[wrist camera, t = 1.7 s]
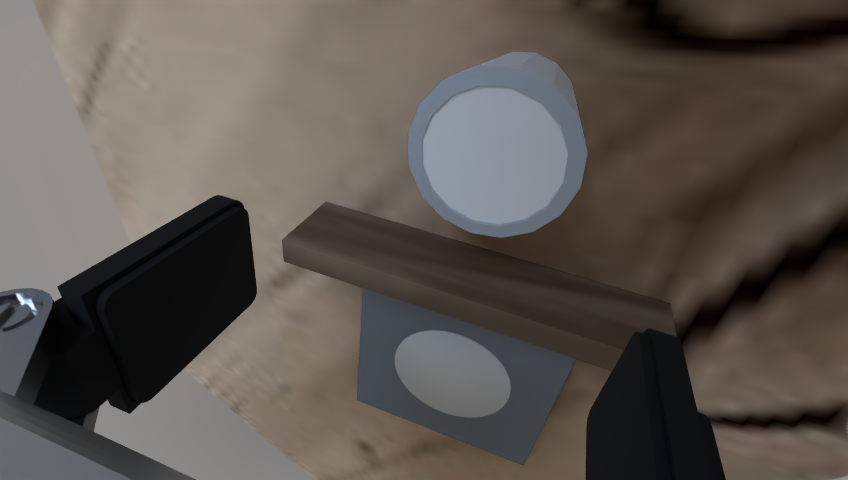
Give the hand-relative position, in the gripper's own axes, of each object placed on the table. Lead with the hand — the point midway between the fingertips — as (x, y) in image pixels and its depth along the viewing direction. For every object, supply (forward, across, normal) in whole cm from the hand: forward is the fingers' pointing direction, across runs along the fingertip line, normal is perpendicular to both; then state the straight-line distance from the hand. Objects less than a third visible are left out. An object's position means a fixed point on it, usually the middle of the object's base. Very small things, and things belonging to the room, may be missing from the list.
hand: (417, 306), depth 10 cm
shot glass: (+15, 0, -1) cm, 15 cm away
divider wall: (+15, 0, +9) cm, 17 cm away
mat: (+15, 0, +19) cm, 25 cm away
